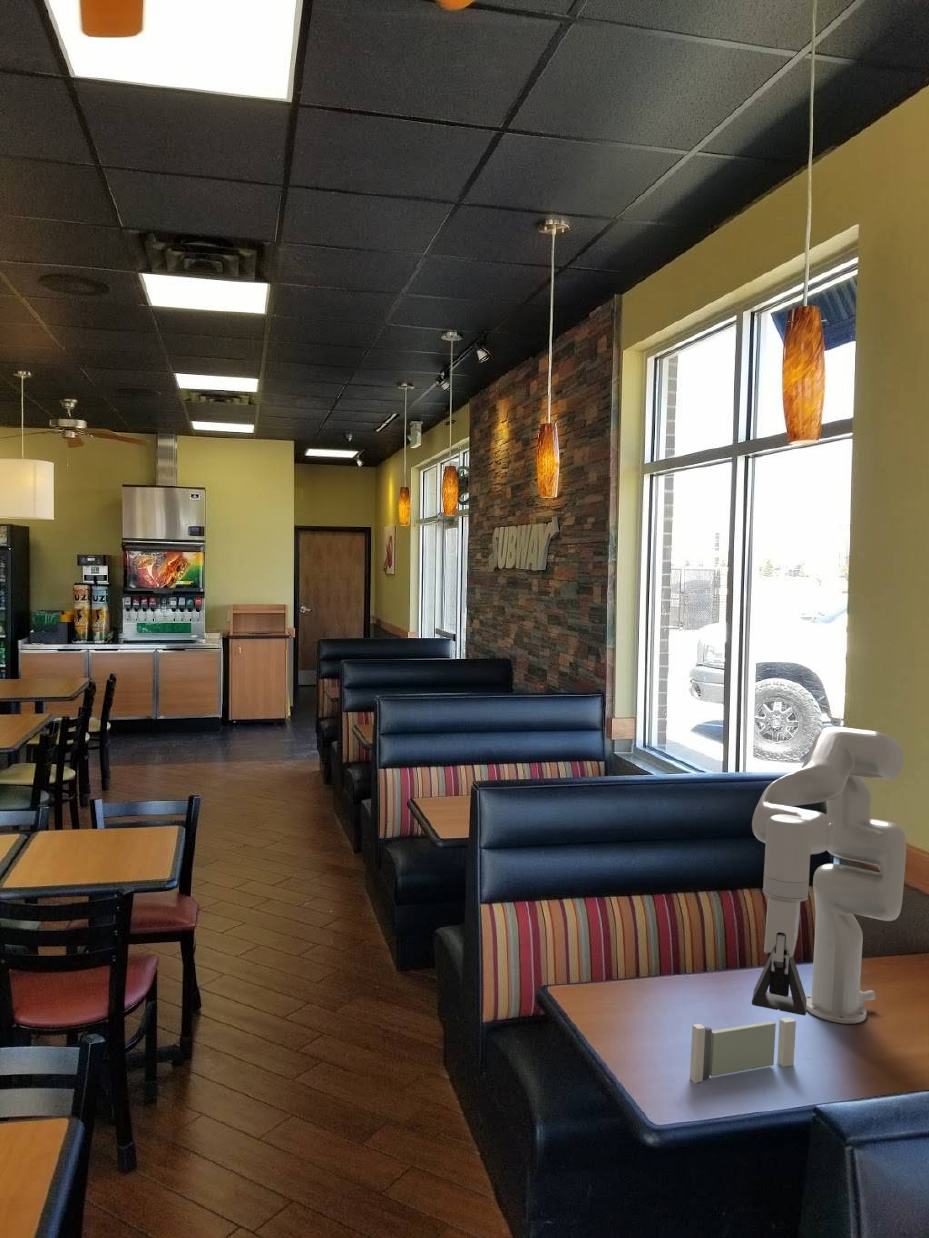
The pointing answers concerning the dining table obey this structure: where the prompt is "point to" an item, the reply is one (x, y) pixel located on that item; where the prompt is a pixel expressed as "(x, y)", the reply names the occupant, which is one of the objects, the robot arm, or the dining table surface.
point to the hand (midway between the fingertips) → (780, 986)
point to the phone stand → (776, 1002)
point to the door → (738, 1048)
